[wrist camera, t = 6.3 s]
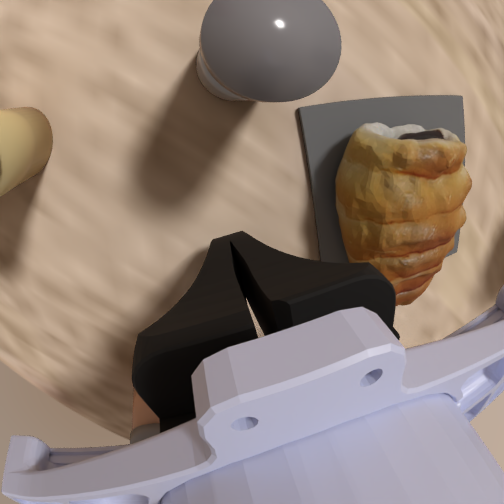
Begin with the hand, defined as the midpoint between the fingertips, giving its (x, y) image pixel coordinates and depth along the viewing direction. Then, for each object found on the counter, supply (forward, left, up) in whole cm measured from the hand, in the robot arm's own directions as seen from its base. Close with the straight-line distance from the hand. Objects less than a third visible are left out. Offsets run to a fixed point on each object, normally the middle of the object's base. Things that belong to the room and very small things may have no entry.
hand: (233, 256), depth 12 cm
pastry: (0, -8, -1) cm, 8 cm away
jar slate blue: (+7, -2, -1) cm, 8 cm away
